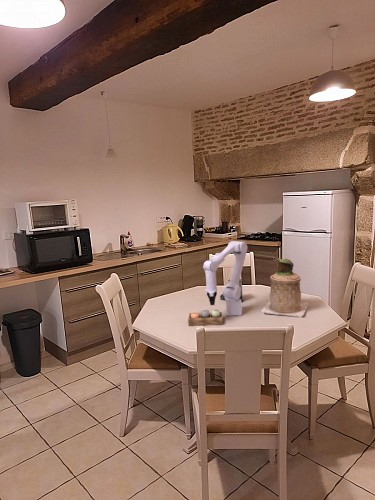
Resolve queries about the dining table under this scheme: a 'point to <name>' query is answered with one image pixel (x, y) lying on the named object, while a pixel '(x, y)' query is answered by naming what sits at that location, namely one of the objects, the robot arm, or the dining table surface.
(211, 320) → the brown wooden flat frame
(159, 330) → the dining table surface
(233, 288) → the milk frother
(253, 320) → the dining table surface
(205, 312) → the key slate
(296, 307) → the cookie jar
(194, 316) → the peach rounded block
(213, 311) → the key sage
